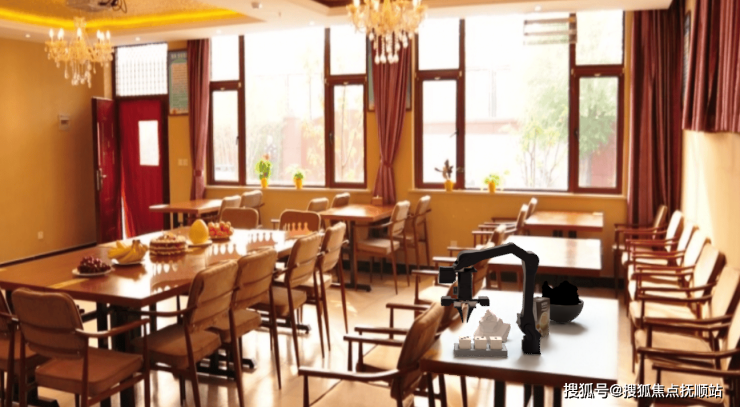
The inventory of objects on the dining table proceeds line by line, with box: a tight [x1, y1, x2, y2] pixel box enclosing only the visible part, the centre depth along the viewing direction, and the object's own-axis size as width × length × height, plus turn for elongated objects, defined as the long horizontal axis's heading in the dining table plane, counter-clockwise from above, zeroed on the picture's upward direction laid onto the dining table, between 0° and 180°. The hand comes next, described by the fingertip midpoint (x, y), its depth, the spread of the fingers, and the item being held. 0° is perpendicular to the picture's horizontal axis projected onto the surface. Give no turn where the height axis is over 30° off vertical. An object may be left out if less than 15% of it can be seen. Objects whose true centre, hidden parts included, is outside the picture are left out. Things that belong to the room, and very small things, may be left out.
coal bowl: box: [541, 279, 585, 324], centre depth 304 cm, size 20×20×19 cm
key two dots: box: [473, 335, 487, 349], centre depth 262 cm, size 4×4×4 cm
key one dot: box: [490, 337, 503, 349], centre depth 262 cm, size 4×4×4 cm
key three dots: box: [458, 335, 472, 349], centre depth 262 cm, size 4×4×4 cm
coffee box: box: [533, 296, 551, 339], centre depth 283 cm, size 9×6×16 cm
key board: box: [453, 342, 509, 358], centre depth 262 cm, size 20×9×2 cm, turn 86°
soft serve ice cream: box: [473, 308, 511, 343], centre depth 278 cm, size 12×15×14 cm
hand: (464, 322), depth 262 cm, fingers closed
